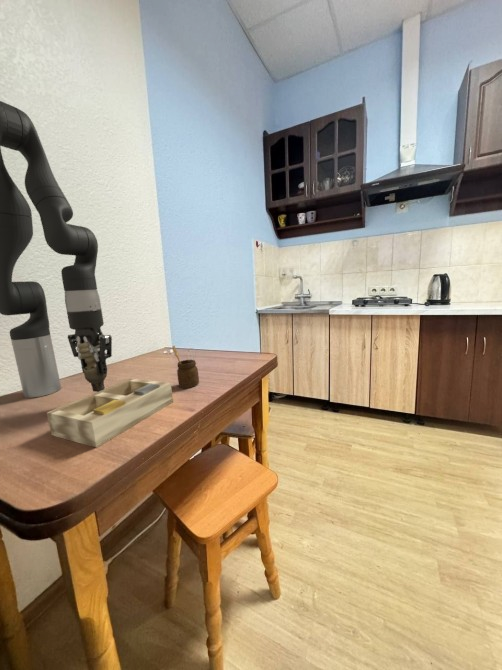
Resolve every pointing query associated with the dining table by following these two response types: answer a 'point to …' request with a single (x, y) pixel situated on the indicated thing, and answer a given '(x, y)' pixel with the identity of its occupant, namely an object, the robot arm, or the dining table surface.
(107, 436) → the socket block
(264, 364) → the dining table surface
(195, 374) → the utensil holder
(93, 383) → the light bulb
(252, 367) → the dining table surface
